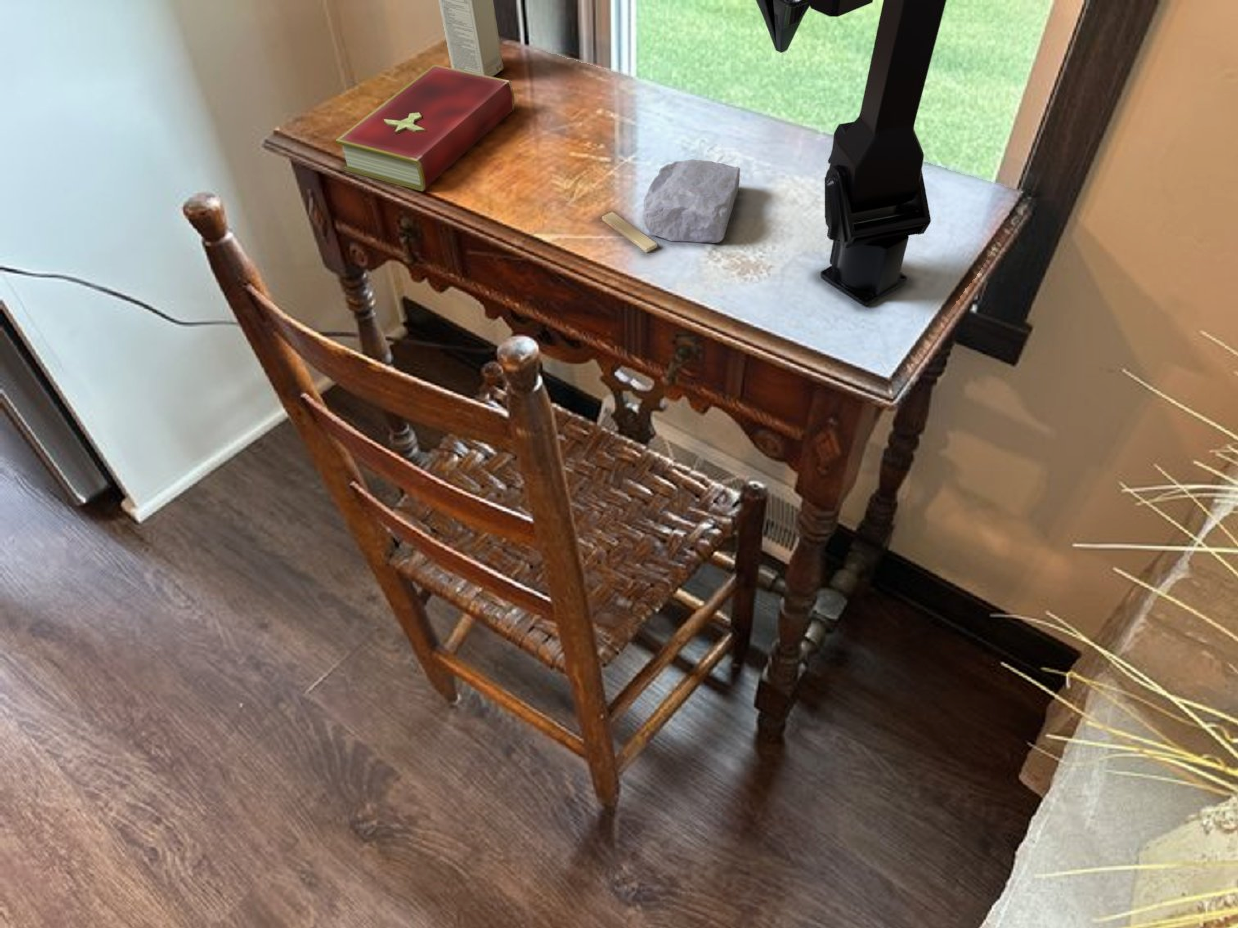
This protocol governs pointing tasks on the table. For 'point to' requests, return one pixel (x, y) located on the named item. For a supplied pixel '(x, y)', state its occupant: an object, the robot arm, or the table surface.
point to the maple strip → (629, 232)
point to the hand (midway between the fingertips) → (781, 50)
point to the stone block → (691, 201)
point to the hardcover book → (426, 126)
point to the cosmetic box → (472, 35)
